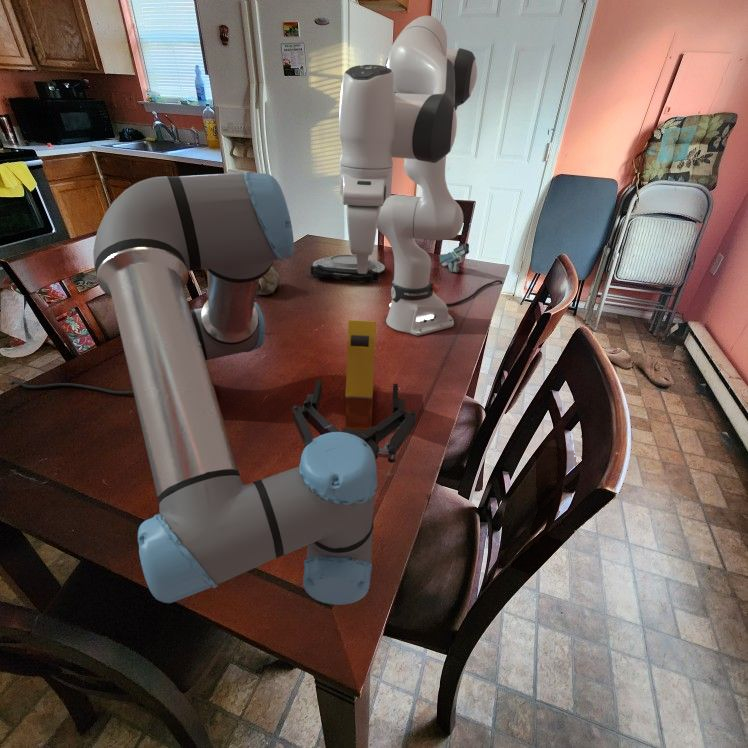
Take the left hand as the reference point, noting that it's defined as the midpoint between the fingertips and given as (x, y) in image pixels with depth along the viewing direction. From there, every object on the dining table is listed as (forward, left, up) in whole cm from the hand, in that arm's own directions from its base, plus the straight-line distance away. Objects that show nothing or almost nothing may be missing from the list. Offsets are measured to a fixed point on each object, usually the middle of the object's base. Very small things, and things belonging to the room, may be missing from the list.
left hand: (357, 387), depth 74 cm
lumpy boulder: (-39, +83, -19) cm, 94 cm away
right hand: (0, +16, +17) cm, 24 cm away
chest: (0, +17, -19) cm, 25 cm away
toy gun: (+34, +113, -19) cm, 119 cm away
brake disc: (-10, +106, -19) cm, 108 cm away
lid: (0, +13, -2) cm, 13 cm away
